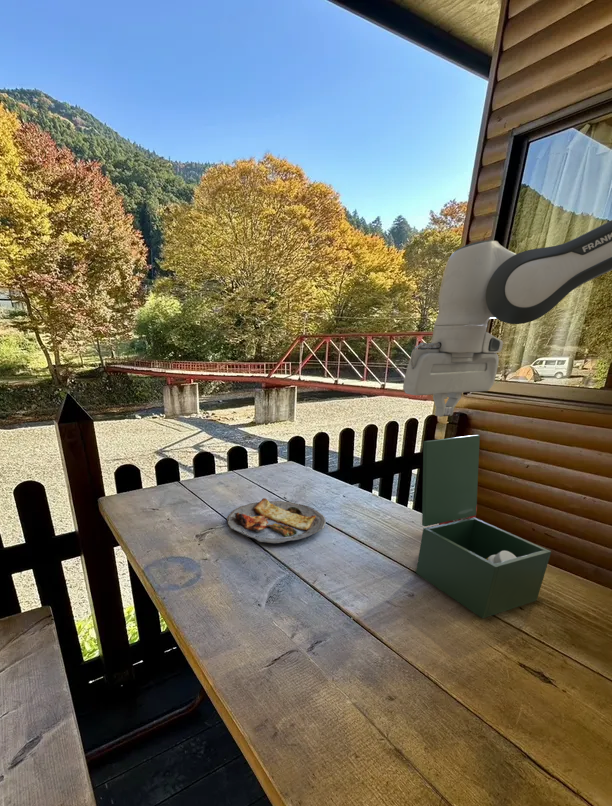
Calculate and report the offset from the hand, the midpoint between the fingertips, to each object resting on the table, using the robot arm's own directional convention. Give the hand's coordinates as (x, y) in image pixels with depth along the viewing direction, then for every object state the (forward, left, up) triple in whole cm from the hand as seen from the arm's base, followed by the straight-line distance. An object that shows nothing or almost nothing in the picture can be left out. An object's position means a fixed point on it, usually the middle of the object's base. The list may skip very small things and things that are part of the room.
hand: (443, 415), depth 82 cm
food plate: (+25, -25, -31) cm, 47 cm away
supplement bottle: (+2, +16, -29) cm, 33 cm away
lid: (+2, +6, -11) cm, 13 cm away
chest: (+2, +15, -31) cm, 34 cm away
